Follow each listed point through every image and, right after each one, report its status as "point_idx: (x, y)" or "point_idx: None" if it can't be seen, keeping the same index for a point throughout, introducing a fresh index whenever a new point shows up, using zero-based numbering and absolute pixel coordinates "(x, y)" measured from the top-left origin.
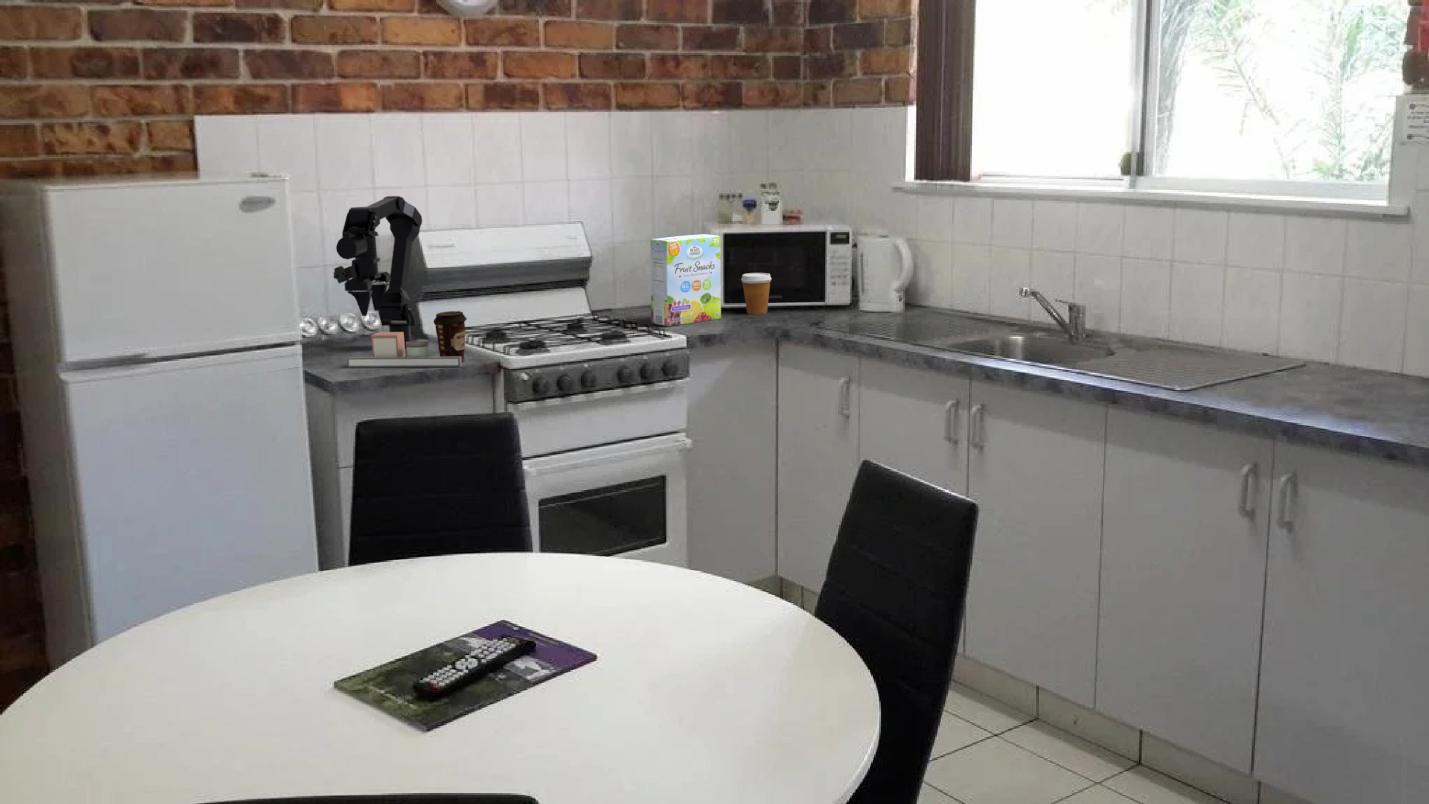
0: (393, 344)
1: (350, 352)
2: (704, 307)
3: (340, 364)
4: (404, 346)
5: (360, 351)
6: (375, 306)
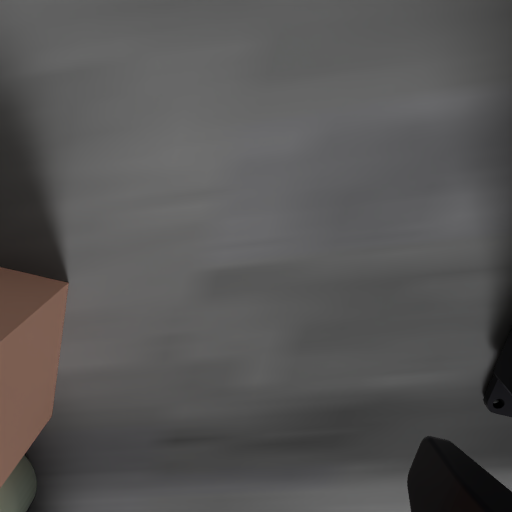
0: None
1: (493, 30)
2: None
3: (10, 27)
4: (2, 480)
5: (506, 105)
6: (439, 500)
